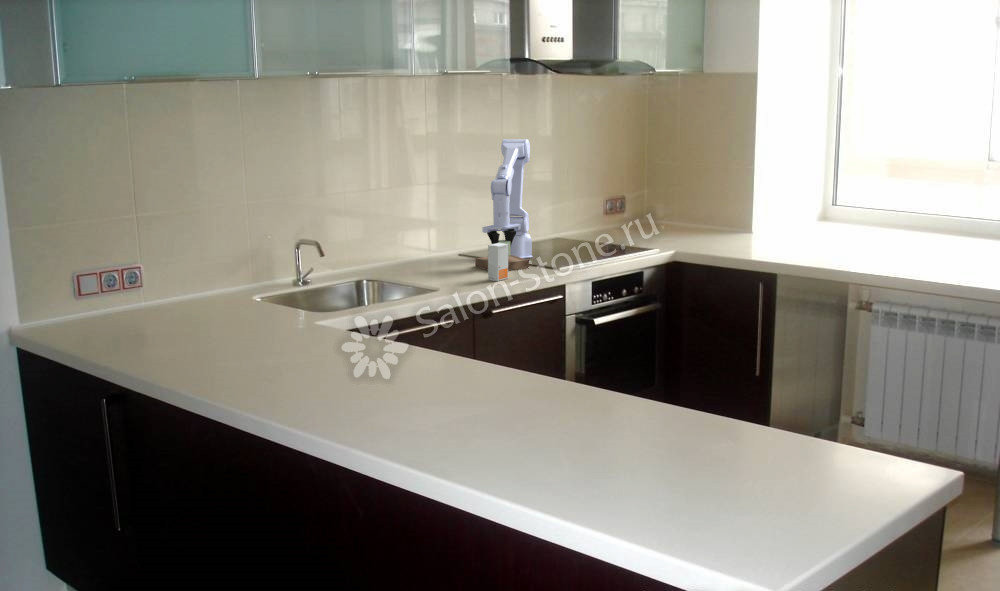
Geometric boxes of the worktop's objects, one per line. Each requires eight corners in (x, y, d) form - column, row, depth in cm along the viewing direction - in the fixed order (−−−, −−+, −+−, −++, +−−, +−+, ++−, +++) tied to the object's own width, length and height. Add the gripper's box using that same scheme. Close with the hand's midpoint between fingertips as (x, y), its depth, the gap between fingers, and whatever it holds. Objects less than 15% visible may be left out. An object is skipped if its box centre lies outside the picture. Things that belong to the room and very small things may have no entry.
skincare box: (497, 281, 332) (497, 246, 329) (487, 280, 334) (487, 245, 331) (508, 278, 336) (508, 243, 334) (498, 277, 339) (498, 242, 336)
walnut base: (508, 262, 366) (508, 254, 365) (528, 268, 354) (528, 260, 353) (475, 266, 359) (475, 258, 358) (494, 272, 347) (494, 264, 346)
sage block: (504, 253, 358) (503, 239, 357) (510, 255, 355) (510, 241, 353) (493, 254, 356) (493, 240, 355) (499, 256, 352) (499, 242, 351)
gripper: (489, 216, 345) (489, 254, 348) (524, 212, 352) (525, 250, 355) (479, 213, 351) (479, 251, 354) (514, 210, 358) (514, 247, 361)
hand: (501, 251), depth 355 cm, fingers closed on sage block, 4 cm apart
